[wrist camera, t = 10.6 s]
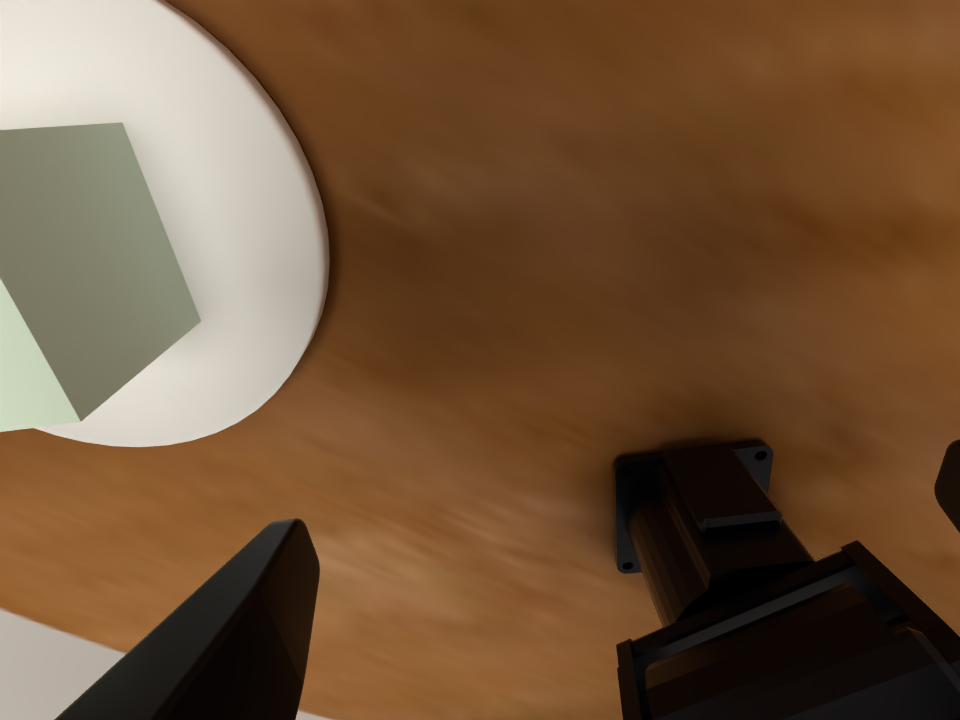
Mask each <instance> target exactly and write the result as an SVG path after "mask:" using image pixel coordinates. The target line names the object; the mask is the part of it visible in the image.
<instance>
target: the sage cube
mask: <svg viewBox="0 0 960 720" xmlns="http://www.w3.org/2000/svg"><path fill="white" fill-rule="evenodd" d="M200 322H201V319H200V317H199V314H198V312H197V309H196V307H195V304H194V302H193V299H192V297H191V294H190V291H189V289H188V286H187V284H186V281H185V279H184V276H183V274H182V271H181V269H180V266H179V264H178V261H177V259H176V256H175V254H174V251H173V249H172V246H171V244H170V241H169V239H168V236H167V234H166V231H165V229H164V226H163V224H162V221H161V218H160V216H159V213H158V211H157V208H156V206H155V203H154V201H153V198H152V196H151V193H150V191H149V188H148V186H147V183H146V181H145V178H144V176H143V173H142V171H141V168H140V166H139V163H138V161H137V158H136V156H135V153H134V151H133V148H132V146H131V143H130V140H129V138H128V135H127V133H126V130H125V128H124V125H123V123H122V122H119V123H103V124H88V125H72V126H56V127H41V128H25V129H9V130H0V432H3V431H11V430H19V429H27V428H35V427H43V426H51V425H59V424H67V423H75V422H81V421H82V420H84V419H85V418H86V417H87V416H88V415H90V414H91V413H92V412H93V411H94V410H96V409H97V408H98V407H99V406H100V405H102V404H103V403H104V402H105V401H106V400H108V399H109V398H110V397H111V396H112V395H114V394H115V393H116V392H117V391H118V390H120V389H121V388H122V387H123V386H124V385H125V384H127V383H128V382H129V381H130V380H131V379H133V378H134V377H135V376H136V375H137V374H139V373H140V372H141V371H142V370H143V369H145V368H146V367H147V366H148V365H149V364H151V363H152V362H153V361H154V360H155V359H157V358H158V357H159V356H160V355H161V354H163V353H164V352H165V351H166V350H167V349H169V348H170V347H171V346H172V345H173V344H175V343H176V342H177V341H178V340H179V339H181V338H182V337H183V336H184V335H185V334H187V333H188V332H189V331H190V330H191V329H193V328H194V327H195V326H196V325H197V324H199V323H200Z"/></svg>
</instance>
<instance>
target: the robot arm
mask: <svg viewBox="0 0 960 720" xmlns="http://www.w3.org/2000/svg"><path fill="white" fill-rule="evenodd" d="M759 451H761V452H760V453H759V454H757V455H755V454H756V453H757V452H759ZM772 458H773V450H772V449H771V448H770V447H769V446H768V444H767V443H766V442H764V441H762V440H756V441H747V442H739V443H731V444H723V445H714V446H706V447H698V448H690V449H681V450H673V451H665V452H657V453H648V454H640V455H632V456H624V457H621V458H619V459H617V460H616V461H615V463H614V464H613V495H614V539H615V562H616V565H617V568H618V570H619V571H620V572H621V573H637V572H642V573H643V575H644V578H645V581H646V583H647V586H648V589H649V592H650V594H651V597H652V600H653V602H654V605H655V608H656V610H657V613H658V616H659V618H660V621H661V624H662V626H663V628H661V629H659V630H656V631H654V632H652V633H649V634H647V635H645V636H643V637H640V638H638V639H636V640H633V641H632V640H631V639H628V640H626V641H624V642H621V643H619V644H617V645H616V647H617V656H618V664H619V667H618V668H617V671H618V680H619V688H620V697H621V705H622V713H623V720H960V637H959V636H958V635H957V634H956V633H955V632H954V631H953V630H952V629H951V628H950V627H949V626H948V625H947V624H946V623H945V622H944V621H943V620H942V619H941V618H940V617H939V616H938V615H937V614H935V613H934V612H933V611H932V610H931V609H930V608H929V607H928V606H927V605H926V604H925V603H924V602H923V601H922V600H921V599H919V598H918V597H917V596H916V595H915V594H914V593H913V592H912V591H911V590H910V589H909V588H908V587H907V586H906V585H905V584H903V583H902V582H901V581H900V580H899V579H898V578H897V577H896V576H895V575H894V574H893V573H892V572H891V571H890V570H889V569H887V568H886V567H885V566H884V565H883V564H882V563H881V562H880V561H879V560H878V559H877V558H876V557H875V556H874V555H873V554H871V553H870V552H869V551H868V550H867V549H866V548H865V547H864V546H863V545H862V544H861V543H860V542H859V541H857V540H856V541H854V542H852V543H850V544H847V545H845V546H843V547H840V548H841V551H839V552H837V553H834V554H832V555H830V556H827V557H825V558H823V559H821V560H818V561H815V560H814V559H813V557H812V556H811V555H810V553H809V552H808V551H807V549H806V548H805V547H804V545H803V544H802V543H801V542H800V540H799V539H798V538H797V536H796V535H795V534H794V532H793V531H792V530H791V528H790V527H789V526H788V524H787V523H786V522H785V520H784V519H783V518H782V513H781V511H780V510H779V509H778V507H777V506H776V505H775V504H774V502H773V501H772V500H771V498H770V497H769V496H768V494H767V492H768V486H769V479H770V472H771V465H772ZM626 467H630V468H629V469H628V470H625V471H622V469H624V468H626ZM934 488H935V496H936V499H937V501H938V503H939V505H940V507H941V508H942V509H943V511H944V512H945V513H946V515H947V516H948V518H949V519H950V520H951V522H952V523H953V524H954V526H955V527H956V528H957V530H958V531H959V532H960V439H959V440H956V441H953V442H952V443H951V444H950V445H949V446H948V448H947V450H946V453H945V456H944V459H943V462H942V465H941V468H940V471H939V474H938V477H937V480H936V483H935V487H934ZM626 562H627V563H626ZM319 576H320V566H319V560H318V556H317V554H316V551H315V548H314V546H313V543H312V540H311V538H310V535H309V532H308V530H307V527H306V525H305V523H304V522H303V521H302V520H301V519H288V520H279V521H274V522H272V523H270V524H269V525H268V526H266V527H265V528H264V529H263V530H262V531H261V532H260V533H259V534H258V535H257V536H255V537H254V538H253V539H252V540H251V541H250V542H249V543H248V544H247V545H246V546H244V547H243V548H242V549H241V550H240V551H239V552H238V553H237V554H236V555H235V556H233V557H232V558H231V559H230V560H229V561H228V562H227V563H226V564H225V565H224V566H223V567H221V568H220V569H219V570H218V571H217V572H216V573H215V574H214V575H213V576H212V577H210V578H209V579H208V580H207V581H206V582H205V583H204V584H203V585H202V586H201V587H199V588H198V589H197V590H196V591H195V592H194V593H193V594H192V595H191V596H190V597H188V598H187V599H186V600H185V601H184V602H183V603H182V604H181V605H180V606H179V607H178V608H176V609H175V610H174V611H173V612H172V613H171V614H170V615H169V616H168V617H167V618H165V619H164V620H163V621H162V622H161V623H160V624H159V625H158V626H157V627H156V628H154V629H153V630H152V631H151V632H150V633H149V634H148V635H147V636H146V637H145V638H144V639H142V640H141V641H140V642H139V643H138V644H137V645H136V646H135V647H134V648H133V649H131V650H130V651H129V652H128V653H127V654H126V655H125V656H124V657H123V658H122V659H121V660H119V661H118V662H117V663H116V664H115V665H114V666H113V667H112V668H111V669H110V670H108V671H107V672H106V673H105V674H104V675H103V676H102V677H101V678H100V679H99V680H98V681H96V682H95V683H94V684H93V685H92V686H91V687H90V688H89V689H88V690H86V691H85V692H84V693H83V694H82V695H81V696H80V697H79V698H78V699H77V700H75V701H74V702H73V703H72V704H71V705H70V706H69V707H68V708H67V709H66V710H64V711H63V712H62V713H61V714H60V715H59V716H58V717H57V718H56V719H55V720H295V719H296V715H297V711H298V707H299V703H300V698H301V694H302V689H303V685H304V679H305V673H306V667H307V660H308V653H309V646H310V639H311V632H312V625H313V618H314V611H315V604H316V597H317V590H318V583H319Z"/></svg>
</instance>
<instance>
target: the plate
mask: <svg viewBox="0 0 960 720" xmlns="http://www.w3.org/2000/svg"><path fill="white" fill-rule="evenodd" d="M119 122H122V123H123V125H124V128H125V130H126V133H127V135H128V138H129V140H130V143H131V146H132V148H133V151H134V153H135V156H136V158H137V161H138V163H139V166H140V168H141V171H142V173H143V176H144V178H145V181H146V183H147V186H148V188H149V191H150V193H151V196H152V198H153V201H154V203H155V206H156V208H157V211H158V213H159V216H160V218H161V221H162V224H163V226H164V229H165V231H166V234H167V236H168V239H169V241H170V244H171V246H172V249H173V251H174V254H175V256H176V259H177V261H178V264H179V266H180V269H181V271H182V274H183V276H184V279H185V281H186V284H187V286H188V289H189V291H190V294H191V297H192V299H193V302H194V304H195V307H196V309H197V312H198V314H199V317H200V319H201V322H200V323H199V324H197V325H196V326H195V327H194V328H193V329H191V330H190V331H189V332H188V333H187V334H185V335H184V336H183V337H182V338H181V339H179V340H178V341H177V342H176V343H175V344H173V345H172V346H171V347H170V348H169V349H167V350H166V351H165V352H164V353H163V354H161V355H160V356H159V357H158V358H157V359H155V360H154V361H153V362H152V363H151V364H149V365H148V366H147V367H146V368H145V369H143V370H142V371H141V372H140V373H139V374H137V375H136V376H135V377H134V378H133V379H131V380H130V381H129V382H128V383H127V384H125V385H124V386H123V387H122V388H121V389H120V390H118V391H117V392H116V393H115V394H114V395H112V396H111V397H110V398H109V399H108V400H106V401H105V402H104V403H103V404H102V405H100V406H99V407H98V408H97V409H96V410H94V411H93V412H92V413H91V414H90V415H88V416H87V417H86V418H85V419H84V420H82V421H81V422H75V423H67V424H59V425H51V426H43V427H35V429H38V430H41V431H45V432H48V433H51V434H54V435H57V436H61V437H65V438H70V439H74V440H78V441H82V442H88V443H95V444H102V445H110V446H127V447H148V446H163V445H171V444H176V443H181V442H187V441H192V440H195V439H198V438H202V437H205V436H208V435H211V434H214V433H217V432H219V431H221V430H223V429H225V428H227V427H229V426H232V425H234V424H236V423H238V422H239V421H241V420H242V419H244V418H245V417H247V416H248V415H250V414H251V413H253V412H254V411H256V410H257V409H259V408H260V407H261V406H262V405H263V404H264V403H265V402H266V401H267V400H268V399H270V398H271V397H272V396H273V395H274V394H275V393H276V392H277V390H278V389H279V388H280V387H281V386H282V384H283V383H284V382H285V381H286V379H287V378H288V377H289V376H290V374H291V373H292V371H293V370H294V368H295V366H296V365H297V363H298V362H299V360H300V359H301V357H302V355H303V354H304V352H305V350H306V348H307V347H308V345H309V343H310V342H311V340H312V338H313V336H314V334H315V331H316V329H317V326H318V324H319V321H320V318H321V316H322V313H323V309H324V304H325V299H326V295H327V290H328V281H329V267H330V255H329V239H328V230H327V224H326V219H325V214H324V209H323V204H322V200H321V197H320V194H319V191H318V188H317V185H316V182H315V179H314V176H313V173H312V170H311V168H310V166H309V164H308V161H307V159H306V157H305V155H304V153H303V151H302V148H301V146H300V144H299V142H298V140H297V138H296V136H295V135H294V133H293V131H292V130H291V128H290V126H289V125H288V123H287V121H286V120H285V118H284V117H283V115H282V113H281V112H280V110H279V108H278V107H277V106H276V104H275V103H274V102H273V100H272V99H271V98H270V96H269V95H268V94H267V92H266V91H265V90H264V89H263V87H262V86H261V85H260V83H259V82H258V81H257V79H256V78H255V77H254V76H253V75H252V74H251V73H250V72H249V71H248V69H247V68H246V67H245V66H244V65H243V64H242V63H241V62H240V61H239V60H238V59H237V58H236V57H235V56H234V55H233V54H232V53H231V52H230V50H229V49H228V48H226V47H225V46H224V45H223V44H222V43H221V42H219V41H218V40H217V39H216V38H215V37H214V36H212V35H211V34H210V33H209V32H208V31H206V30H205V29H204V28H203V27H202V26H201V25H199V24H198V23H197V22H196V21H194V20H193V19H191V18H190V17H188V16H187V15H185V14H184V13H182V12H181V11H180V10H178V9H177V8H175V7H174V6H172V5H171V4H169V3H168V2H166V1H165V0H0V130H9V129H25V128H41V127H56V126H72V125H88V124H103V123H119Z"/></svg>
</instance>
